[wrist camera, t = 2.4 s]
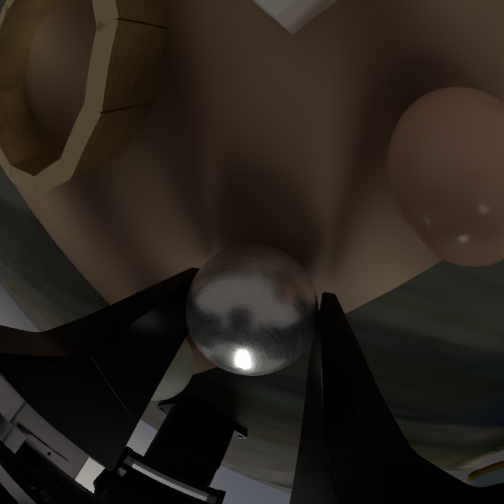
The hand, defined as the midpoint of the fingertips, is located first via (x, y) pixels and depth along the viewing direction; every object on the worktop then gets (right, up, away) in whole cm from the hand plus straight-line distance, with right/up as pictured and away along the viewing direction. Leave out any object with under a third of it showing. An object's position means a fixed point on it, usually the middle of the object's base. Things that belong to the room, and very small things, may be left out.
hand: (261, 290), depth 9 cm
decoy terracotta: (+4, +3, -5) cm, 7 cm away
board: (-4, +8, -1) cm, 9 cm away
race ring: (-8, +9, -2) cm, 12 cm away
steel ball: (0, -1, -1) cm, 1 cm away
